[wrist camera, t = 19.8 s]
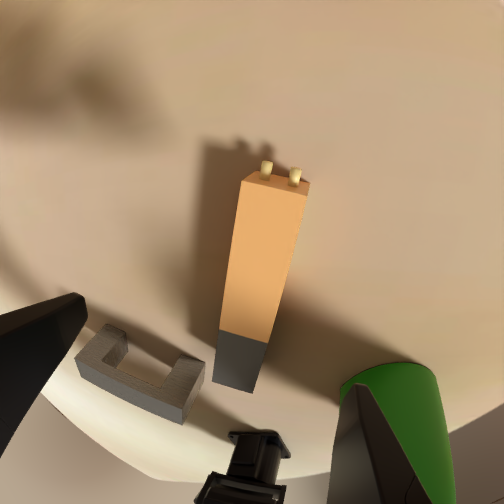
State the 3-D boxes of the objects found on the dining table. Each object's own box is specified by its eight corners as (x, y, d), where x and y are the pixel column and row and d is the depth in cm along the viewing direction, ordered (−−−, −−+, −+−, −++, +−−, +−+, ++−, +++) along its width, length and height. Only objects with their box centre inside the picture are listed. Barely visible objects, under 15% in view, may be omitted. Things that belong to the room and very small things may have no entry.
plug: (261, 364, 24) (252, 393, 21) (224, 353, 25) (211, 381, 22) (313, 167, 17) (311, 177, 14) (258, 155, 17) (244, 161, 14)
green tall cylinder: (323, 405, 25) (287, 598, 8) (375, 348, 21) (370, 607, 3) (400, 425, 25) (397, 589, 7) (456, 375, 21) (485, 569, 3)
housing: (203, 381, 27) (182, 425, 22) (110, 343, 29) (81, 376, 24) (205, 362, 26) (181, 409, 21) (106, 323, 27) (74, 357, 22)
